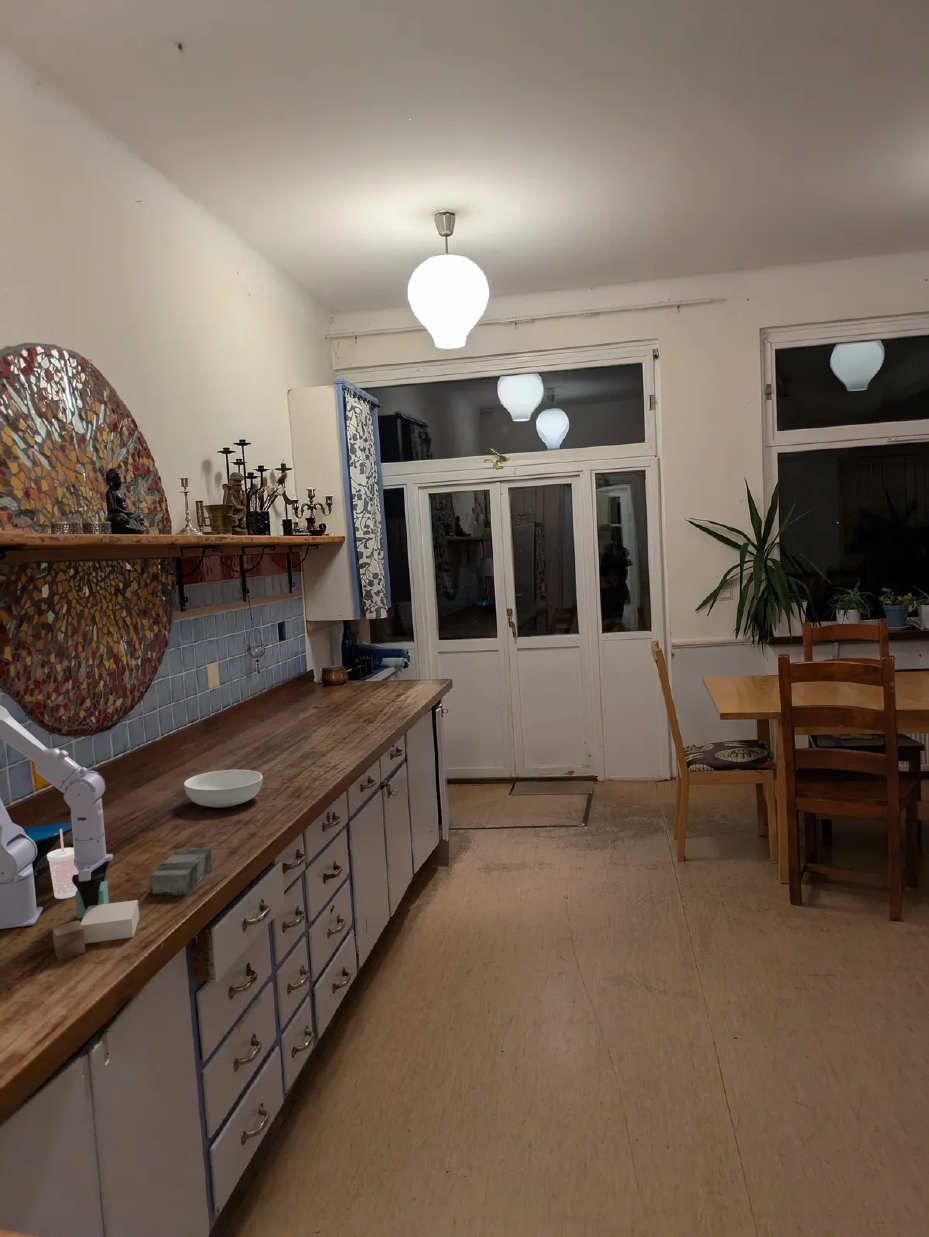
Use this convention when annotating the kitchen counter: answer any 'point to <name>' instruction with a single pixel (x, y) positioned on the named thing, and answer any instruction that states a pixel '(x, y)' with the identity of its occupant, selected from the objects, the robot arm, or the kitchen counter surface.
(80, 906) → the teal cube
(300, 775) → the kitchen counter surface
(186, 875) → the stone block
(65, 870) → the beverage cup
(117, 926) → the ceramic base
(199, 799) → the serving bowl
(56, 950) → the walnut cube
